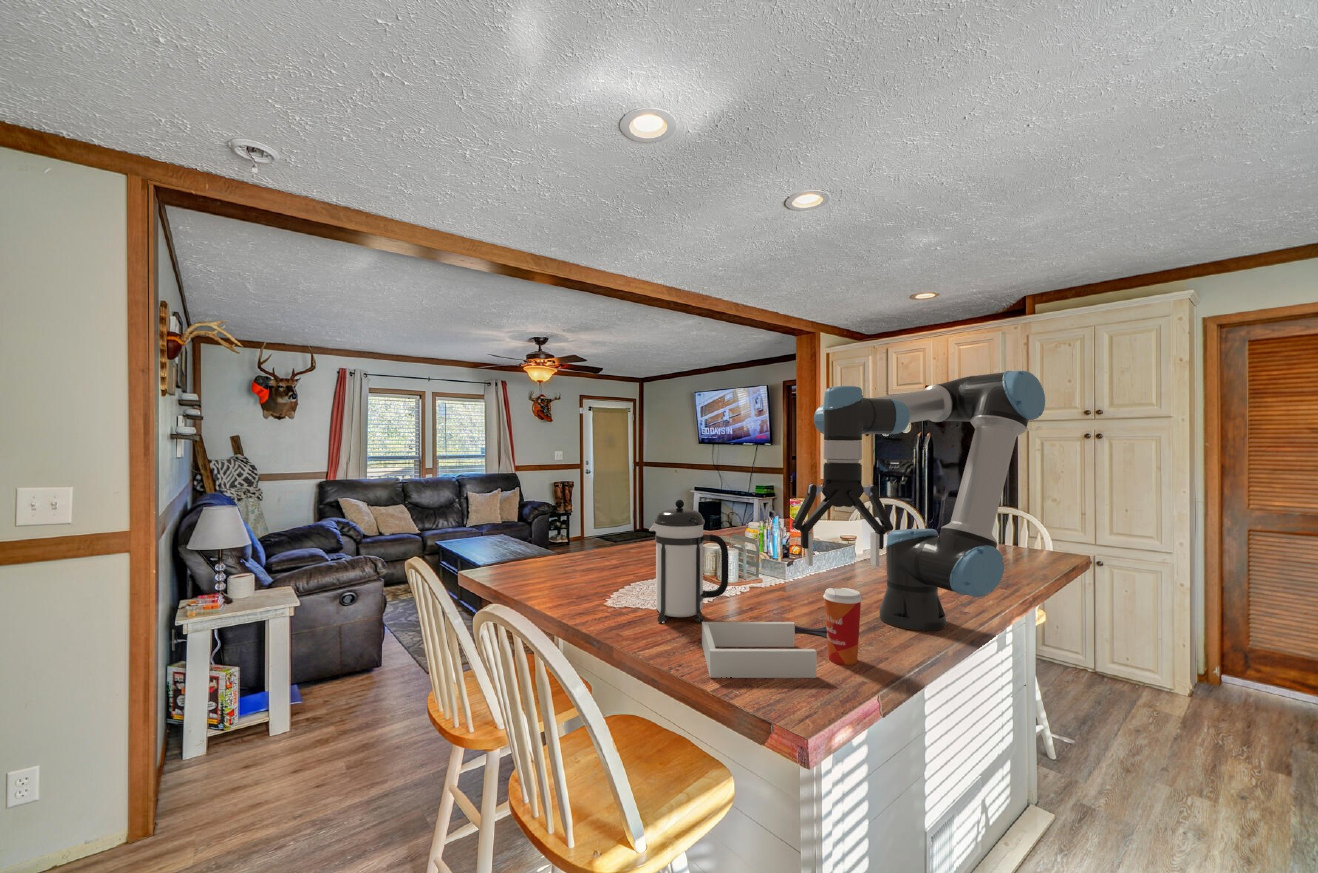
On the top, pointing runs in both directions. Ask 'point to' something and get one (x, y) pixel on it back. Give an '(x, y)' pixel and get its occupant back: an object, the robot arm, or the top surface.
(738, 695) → the top surface
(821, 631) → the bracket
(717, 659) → the box
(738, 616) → the top surface
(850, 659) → the paper cup
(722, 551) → the coffee press
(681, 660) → the top surface
